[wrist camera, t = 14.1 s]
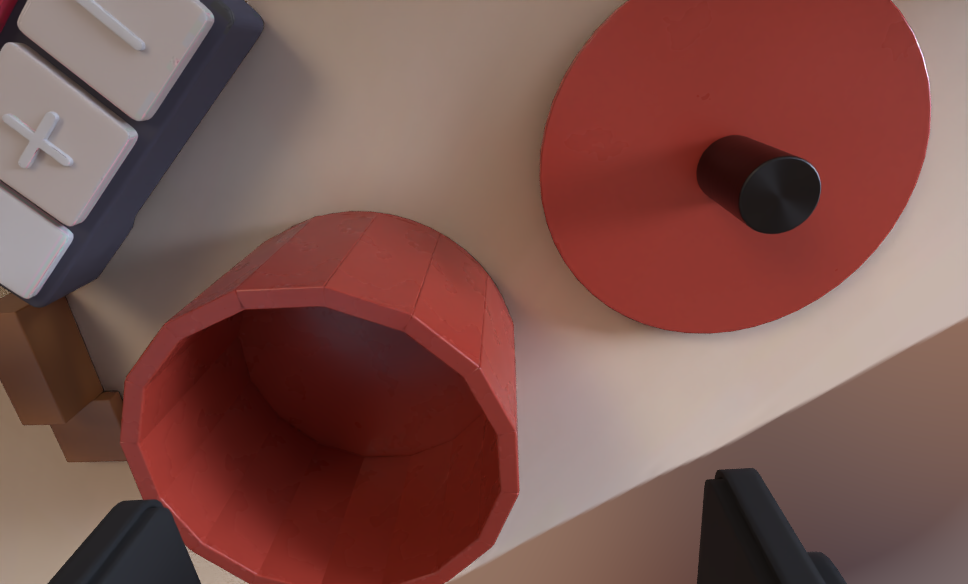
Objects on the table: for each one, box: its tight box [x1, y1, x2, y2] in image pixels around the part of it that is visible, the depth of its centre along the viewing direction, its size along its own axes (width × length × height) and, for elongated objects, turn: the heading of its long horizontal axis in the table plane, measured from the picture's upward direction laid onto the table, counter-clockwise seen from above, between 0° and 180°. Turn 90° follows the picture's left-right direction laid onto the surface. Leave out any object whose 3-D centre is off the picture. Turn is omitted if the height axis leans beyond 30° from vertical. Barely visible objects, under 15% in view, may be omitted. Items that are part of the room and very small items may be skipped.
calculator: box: [0, 0, 264, 308], centre depth 21 cm, size 11×4×15 cm
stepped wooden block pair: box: [0, 293, 127, 462], centre depth 27 cm, size 10×4×3 cm, turn 4°
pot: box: [120, 211, 519, 584], centre depth 23 cm, size 14×14×8 cm
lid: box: [539, 0, 931, 333], centre depth 20 cm, size 15×15×6 cm
